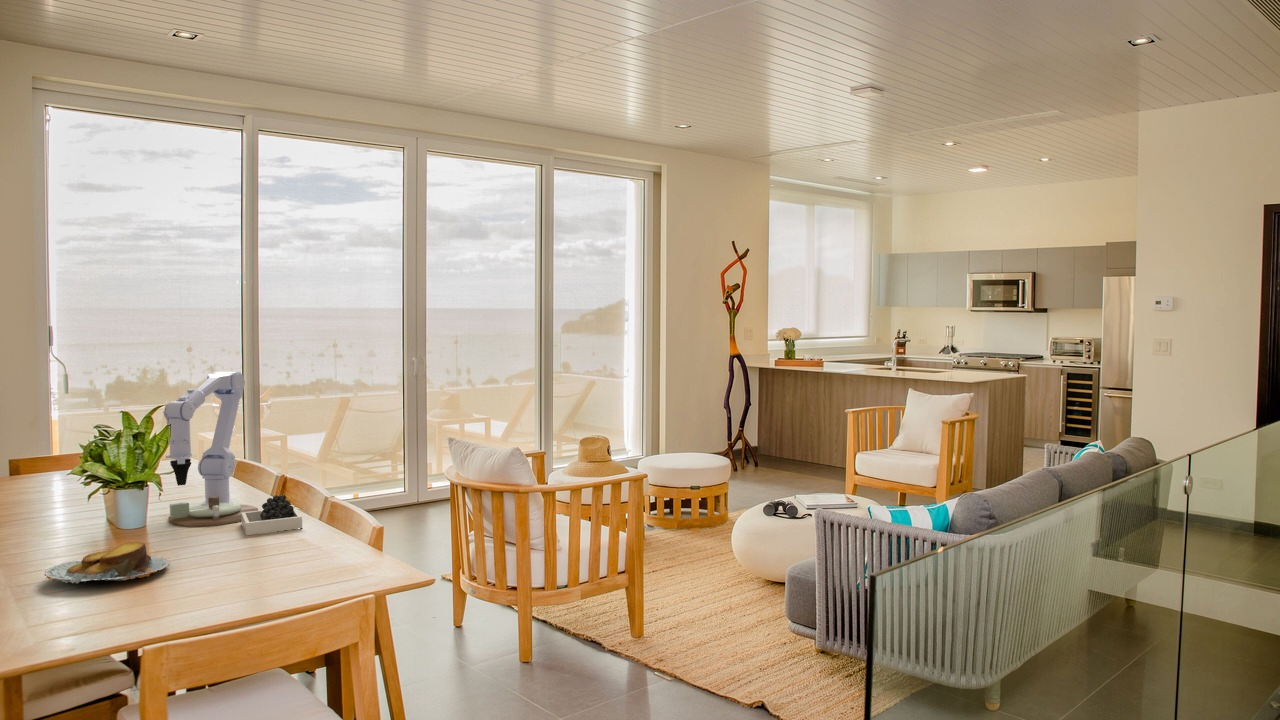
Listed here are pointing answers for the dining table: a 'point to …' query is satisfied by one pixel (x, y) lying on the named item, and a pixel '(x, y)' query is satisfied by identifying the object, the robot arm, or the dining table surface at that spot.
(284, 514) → the fruit
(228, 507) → the flange plate
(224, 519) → the base board
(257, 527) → the fruit frame
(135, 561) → the food on plate
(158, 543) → the dining table surface
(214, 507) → the dowel
